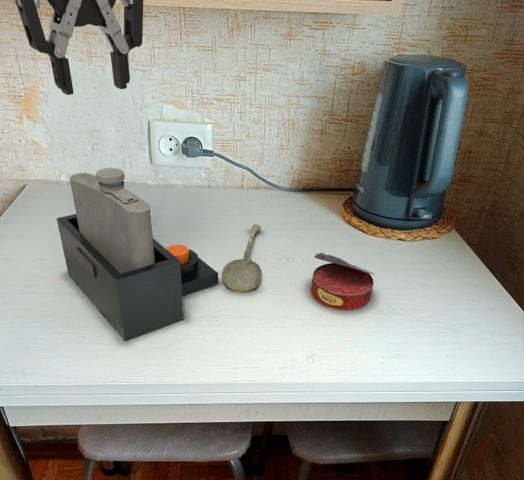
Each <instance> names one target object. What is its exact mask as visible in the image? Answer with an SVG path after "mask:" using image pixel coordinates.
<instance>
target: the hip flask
mask: <svg viewBox="0 0 524 480" xmlns="http://www.w3.org/2000/svg"><path fill="white" fill-rule="evenodd" d="M125 176H126V175H125V171H124V170H123V169H120V168H116V167H106V168H101V169H98V170H97V171H96V172H95V175H94V174H91V173H87V172H79V173H74V174H72V175H70V177H69V181H70V182H69V183H70V187H71V193H72V197H73V204H74V209H75V214H76V215H77V220H78V226H79V231H80V233H81V234H82V235H83V236H84V237H85V238H86V239H87V240H88V241H89V242H90V243H91V244H92V245H93V246H94V247H95V248H96V249H97V250H98V251H99V252H100V253H101V254H102V255H103V256H104V257H105V258H106V259H107V260H108V261H109V262H110V263H111V264H112V265H113V267H114V268H115V269H116V270H117V271H118V272H119V273H120V274H122V273H125V272H128V271H132V270H135V269H138V268H142V267H145V266H149V265H152V264H155V260H154V248H153V238H154V236H153V226H152V225H153V224H152V214H151V213H152V212H151V205H149V203H147V202H146V201H145V200H144V199H142V198H141V197H139V196H138V195H137V194H135V193H134V192H132V191H130V190H128V189H127V188H125V181H124V180H125V179H126V177H125Z"/></svg>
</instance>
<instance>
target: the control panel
mask: <svg viewBox="0 0 524 480" xmlns="http://www.w3.org/2000/svg"><path fill="white" fill-rule="evenodd" d="M188 249H189V248H188ZM180 266H181V285H182V297H186V296H188V295H191V294H193V293H197V292H201V291H202V290H206V289H209V288H211V287H215V286H218V285H219V272H217V270H215V269H214V268H213V267H211V266H210V265H209V264H208V263H206V261H204V260H203V259H201V258H200V257H199V254H198V253H197V252H195V250H193V249H189V261H188V262H186V263H182V264H180Z"/></svg>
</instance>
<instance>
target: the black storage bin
mask: <svg viewBox="0 0 524 480" xmlns="http://www.w3.org/2000/svg"><path fill="white" fill-rule="evenodd" d="M56 222H57V228H58V232H59V237H60V243H61V247H62V251H63V256H64V260H65V264H66V270H67V274H68V276H69V277H70V278H71V280H72V281H73V282H74V283H75V285H77V287H78V288H79V290H81V291H82V292H83V294H84V295H85V296H86V297H87V298H88V299H89V301H90V302H91V303H92V305H94V307H95V308H96V309H97V310H98V311H99V312H100V313H101V315H102V316H103V317H104V319H106V321H107V322H108V323H109V324H110V326H111V327H113V329H114V330H115V331H116V332H117V334H118V335H119V336H120V338H121V339H122V340H123V341H124V342H126V341H129V340H132V339H135V338H137V337H141V336H143V335H145V334H148V333H152V332H154V331H157V330H159V329H162V328H164V327H168V326H170V325H173V324H175V323H179V322H181V321H184V309H183V307H184V306H183V296H182V285H181V266H180V260H178V259H177V258H176V257H175V256H174V255H173V254H171V253H170V252H169V251H168V250H167V248H166V247H164V246H163V245H162V244H161V243H159V241H157V240H156V239H155V238H154V237H153V248H154V260H155V264H152V265H149V266H145V267H142V268H138V269H135V270H132V271H128V272H125V273H122V274H120V273H119V272H118V271H117V270H116V269H115V268H114V267H113V265H112V264H111V263H110V262H109V261H108V260H107V259H106V258H105V257H104V256H103V255H102V254H101V253H100V252H99V251H98V250H97V249H96V248H95V247H94V246H93V245H92V244H91V243H90V242H89V241H88V240H87V239H86V238H85V237H84V236H83V235H82V234H81V233H80V231H79V226H78V220H77V215H76V213H74V214H69V215H65V216H59V217H56Z"/></svg>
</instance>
